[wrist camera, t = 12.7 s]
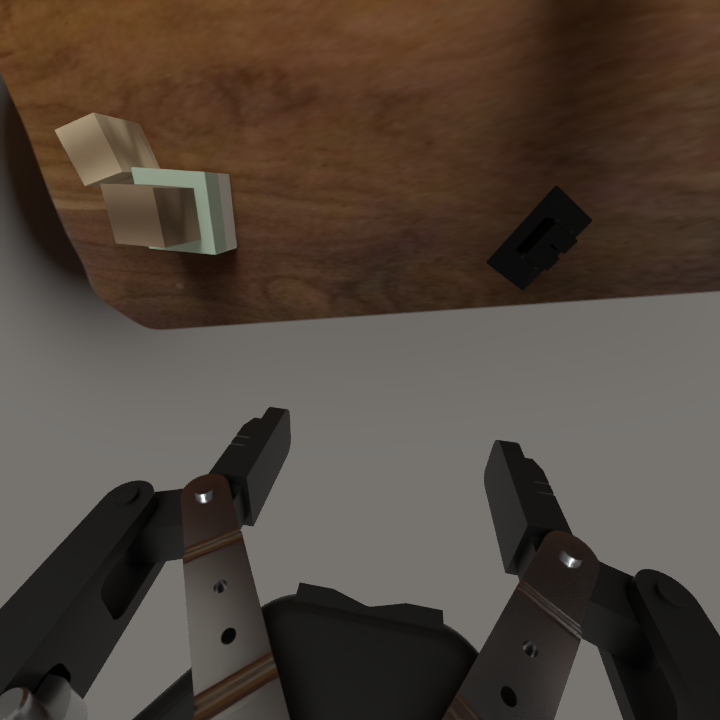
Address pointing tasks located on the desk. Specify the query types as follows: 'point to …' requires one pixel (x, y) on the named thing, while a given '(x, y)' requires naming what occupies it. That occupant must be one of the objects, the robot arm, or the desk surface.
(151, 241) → the walnut brick
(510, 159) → the desk surface
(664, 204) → the desk surface
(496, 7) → the desk surface
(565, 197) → the black angular block
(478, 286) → the desk surface
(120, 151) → the brick
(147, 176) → the brick base
